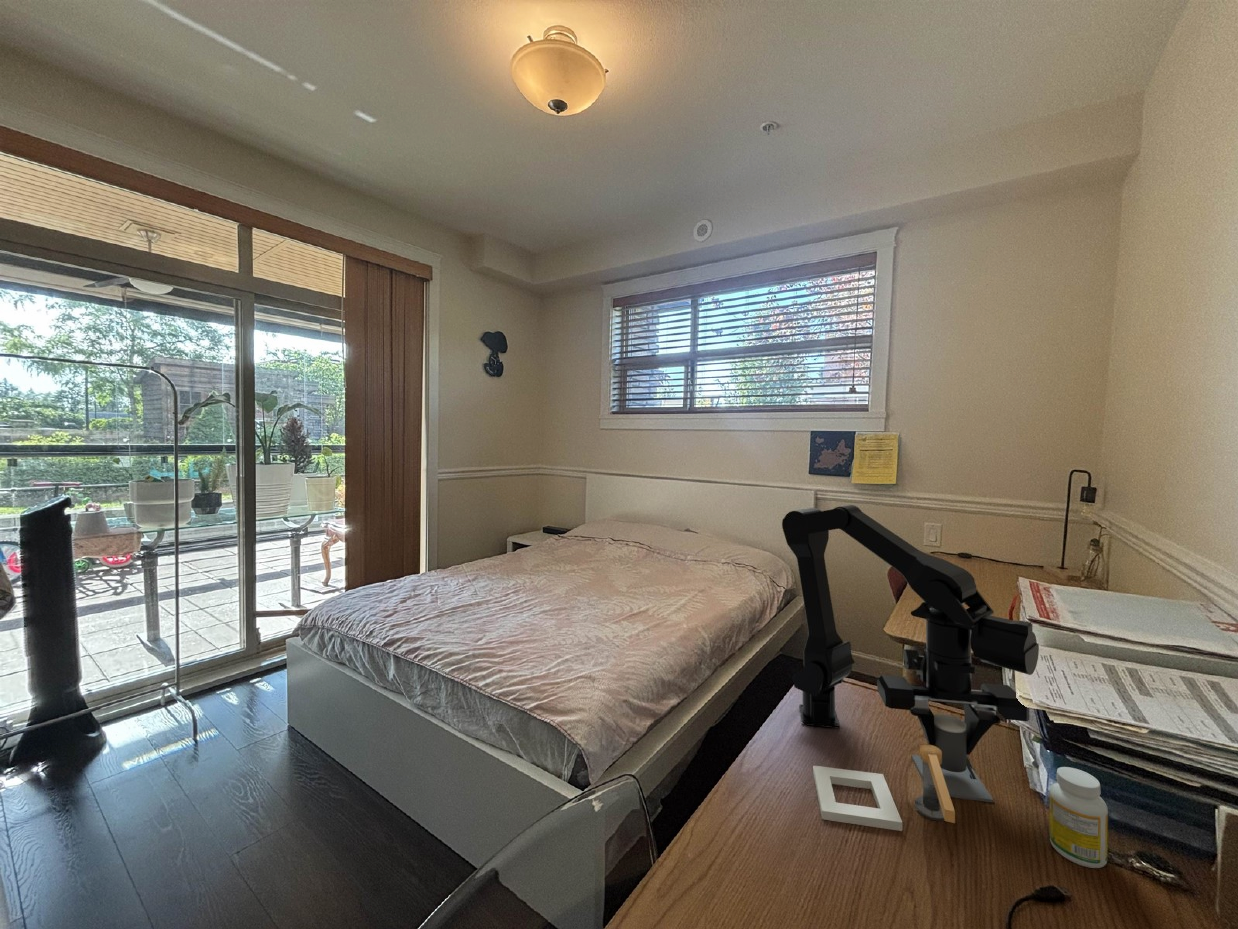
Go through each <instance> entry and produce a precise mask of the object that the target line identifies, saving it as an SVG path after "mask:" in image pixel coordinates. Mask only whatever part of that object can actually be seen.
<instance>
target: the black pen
mask: <svg viewBox="0 0 1238 929" xmlns="http://www.w3.org/2000/svg"><path fill="white" fill-rule="evenodd" d="M968 756H969V755H967V754H966V766H967V768H968V770H969V772H970V773H971V774H970V778H972V777H973V778H972V779H974V780H975V782H976V783H977V781H976V777H975V775H974V773H973V771H972V770H971V769H973V765H972V763H971V761H970V758H969V757H968ZM970 767H971V768H970ZM973 770H974V769H973ZM971 775H972V776H971Z"/></svg>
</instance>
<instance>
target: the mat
mask: <svg viewBox="0 0 1238 929" xmlns="http://www.w3.org/2000/svg"><path fill="white" fill-rule="evenodd" d="M910 758H911V759H912V761H913V764H914V766H915V767H916V768H917V771H918V772H919V775H920V777H921V779H922V780H923V761H922V760H921V758H920V755H916V754H911V756H910ZM970 768H971V767H970ZM941 770H942V773H943V777H944V780H945V783H946V786H947V789H948V792H949V795H950V798H954V799H955V798H956V799H963V800H970V801H979V802H985V803H986V802H987V803H995V802H994V801H995V800H994V798H993V796H992V795H991V794H990V792H989V791H988V789H987V788H986V787H985V785H984V784H983V782H982V781H981V779H980V778H979V776H978V775H977V773H976V772H975V770H974V769H971V770H972V771H973V773H974V775H975V777H976V781H977V783H976V782H975V780H974V779H972V778H973V777H972V778H970V774H971V773H970V772H969V770H968V768H967V766H966V770H965V771H964V772H951V771H947V770H945V769H942V768H941ZM971 776H972V775H971Z"/></svg>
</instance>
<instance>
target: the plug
mask: <svg viewBox="0 0 1238 929" xmlns="http://www.w3.org/2000/svg"><path fill="white" fill-rule="evenodd" d="M934 730H935V746H936V747H938V748H939V749H940V750H941V751H942V764H941V765H940V767H941V768H942V769H945V770H947V771H951V772H964V771H965V770H966V724H965V722H964V720H962V719H961V718H959V717H957V716H954V715H951V714H947V713H936V714H934Z"/></svg>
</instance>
